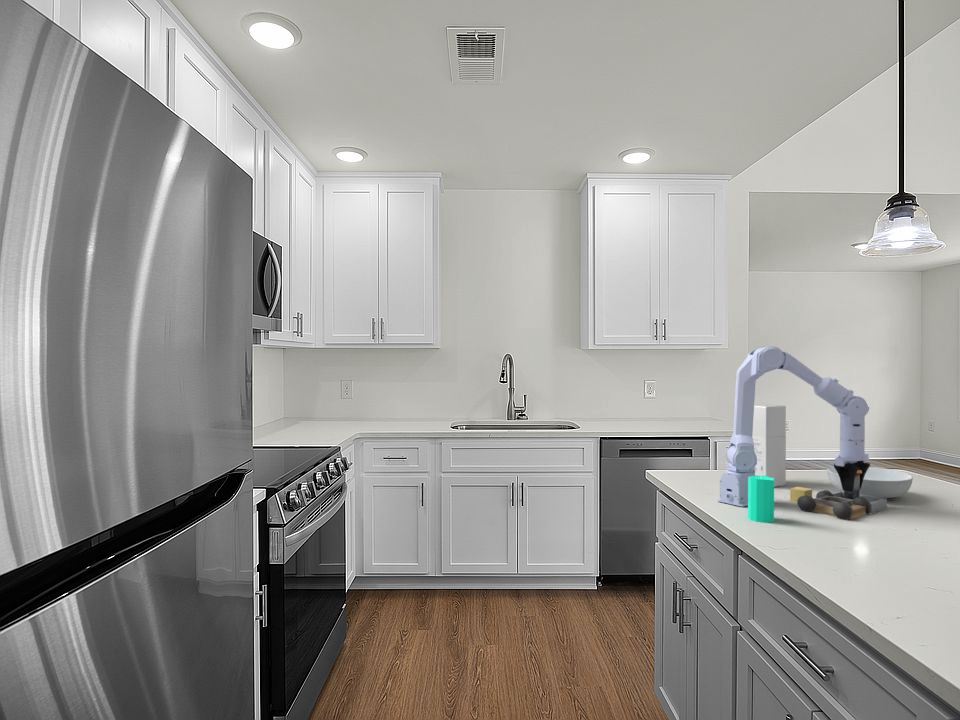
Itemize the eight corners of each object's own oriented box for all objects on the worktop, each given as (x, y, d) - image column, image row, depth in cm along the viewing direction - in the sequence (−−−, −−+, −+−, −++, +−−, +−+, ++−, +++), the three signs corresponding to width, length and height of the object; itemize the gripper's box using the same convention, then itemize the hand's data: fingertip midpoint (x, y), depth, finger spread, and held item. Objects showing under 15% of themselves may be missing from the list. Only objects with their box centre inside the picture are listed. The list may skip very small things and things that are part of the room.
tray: (871, 513, 156) (871, 504, 156) (823, 504, 166) (823, 495, 166) (886, 508, 161) (886, 499, 161) (839, 499, 171) (839, 490, 171)
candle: (759, 523, 148) (759, 474, 148) (742, 516, 154) (742, 469, 153) (779, 521, 149) (780, 472, 149) (762, 515, 155) (762, 468, 155)
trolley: (870, 513, 156) (870, 498, 156) (849, 520, 150) (849, 504, 149) (819, 503, 167) (819, 489, 167) (797, 509, 160) (797, 494, 160)
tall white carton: (786, 485, 189) (786, 405, 189) (766, 488, 186) (766, 406, 185) (762, 480, 197) (762, 403, 197) (742, 482, 194) (742, 404, 193)
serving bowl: (828, 499, 171) (828, 475, 171) (825, 485, 190) (825, 463, 190) (918, 508, 162) (918, 482, 162) (906, 492, 180) (906, 469, 180)
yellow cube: (804, 503, 167) (804, 491, 167) (790, 500, 170) (790, 488, 170) (812, 501, 169) (812, 489, 169) (797, 498, 173) (797, 486, 173)
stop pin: (856, 500, 160) (857, 470, 161) (839, 497, 164) (839, 468, 164) (864, 499, 163) (864, 469, 163) (846, 496, 166) (847, 467, 167)
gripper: (855, 443, 156) (855, 496, 156) (880, 439, 164) (880, 489, 165) (826, 440, 162) (826, 491, 162) (852, 436, 170) (852, 484, 170)
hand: (851, 489), depth 164 cm, fingers closed on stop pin, 4 cm apart
